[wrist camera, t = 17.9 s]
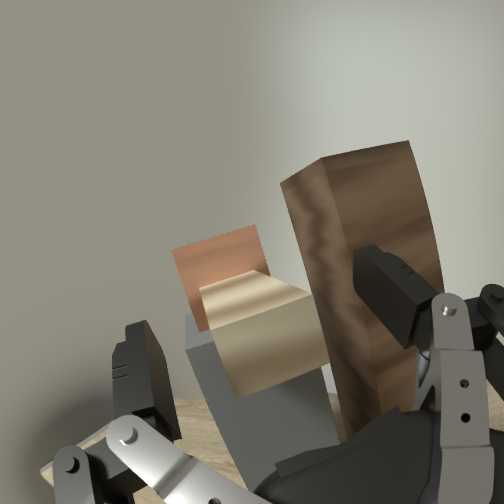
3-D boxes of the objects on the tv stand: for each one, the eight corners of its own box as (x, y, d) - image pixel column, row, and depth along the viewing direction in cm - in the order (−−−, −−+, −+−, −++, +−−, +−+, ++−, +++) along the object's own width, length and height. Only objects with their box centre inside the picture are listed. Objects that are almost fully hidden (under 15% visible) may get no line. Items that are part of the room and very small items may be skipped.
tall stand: (450, 455, 25) (408, 140, 22) (390, 495, 23) (321, 157, 21) (402, 420, 34) (350, 165, 32) (349, 449, 33) (279, 183, 30)
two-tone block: (351, 352, 13) (314, 209, 12) (211, 406, 11) (156, 258, 11) (263, 294, 28) (243, 227, 28) (197, 316, 27) (174, 249, 27)
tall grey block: (355, 513, 23) (305, 308, 21) (279, 544, 21) (185, 350, 19) (320, 462, 32) (267, 287, 30) (257, 486, 31) (185, 315, 29)
